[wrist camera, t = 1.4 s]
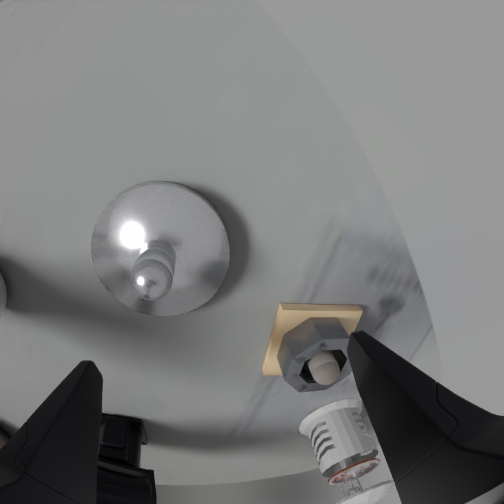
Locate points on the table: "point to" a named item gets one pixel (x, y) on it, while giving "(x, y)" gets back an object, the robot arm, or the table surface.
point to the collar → (312, 351)
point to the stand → (294, 314)
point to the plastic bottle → (2, 294)
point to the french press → (344, 448)
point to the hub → (161, 249)
